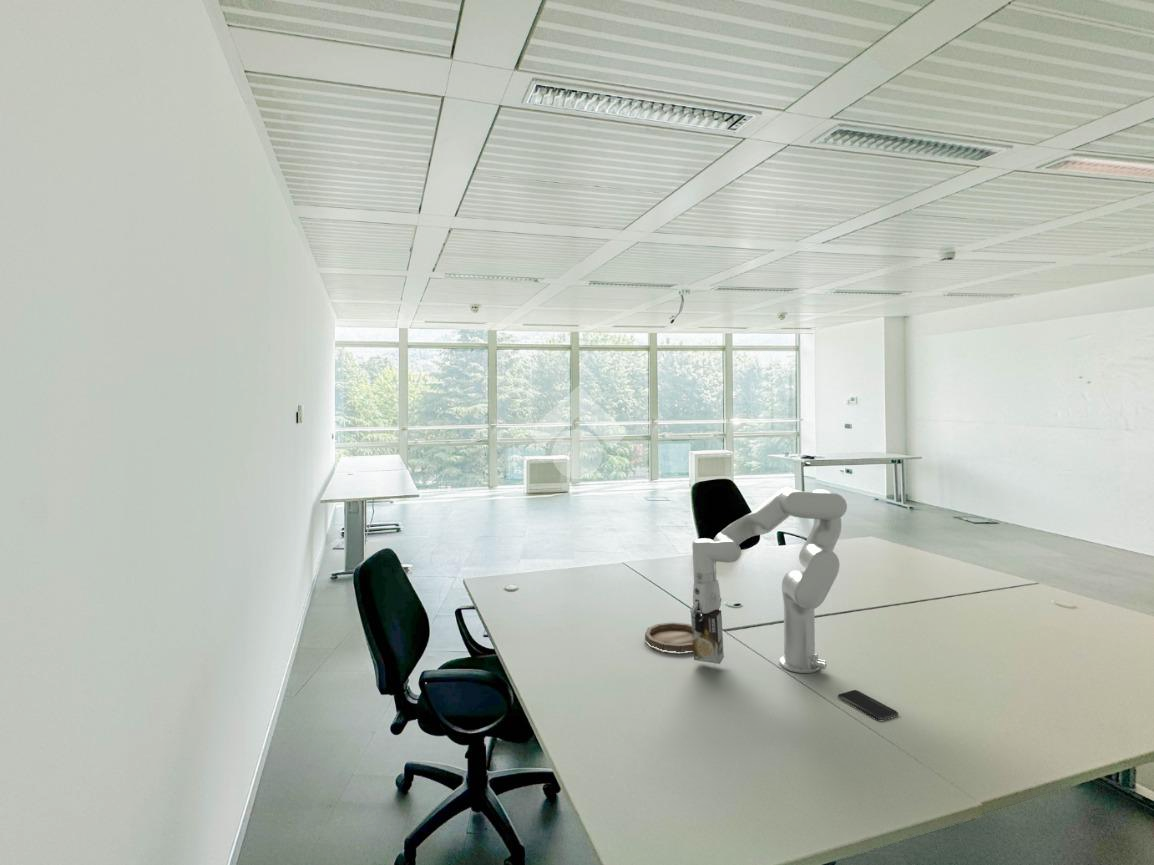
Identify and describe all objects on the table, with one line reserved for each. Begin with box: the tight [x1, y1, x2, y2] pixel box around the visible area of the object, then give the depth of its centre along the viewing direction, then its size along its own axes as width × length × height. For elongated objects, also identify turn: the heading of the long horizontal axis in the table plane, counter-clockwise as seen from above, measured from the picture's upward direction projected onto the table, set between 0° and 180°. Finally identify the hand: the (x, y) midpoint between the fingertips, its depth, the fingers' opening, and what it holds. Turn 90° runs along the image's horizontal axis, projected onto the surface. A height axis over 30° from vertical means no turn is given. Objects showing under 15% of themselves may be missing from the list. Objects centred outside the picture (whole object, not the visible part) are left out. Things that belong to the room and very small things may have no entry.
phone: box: [837, 689, 899, 721], centre depth 168 cm, size 8×1×15 cm
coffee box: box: [690, 609, 725, 665], centre depth 196 cm, size 9×6×16 cm
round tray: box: [644, 622, 693, 652], centre depth 218 cm, size 22×22×3 cm
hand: (707, 627), depth 196 cm, fingers closed on coffee box, 7 cm apart
